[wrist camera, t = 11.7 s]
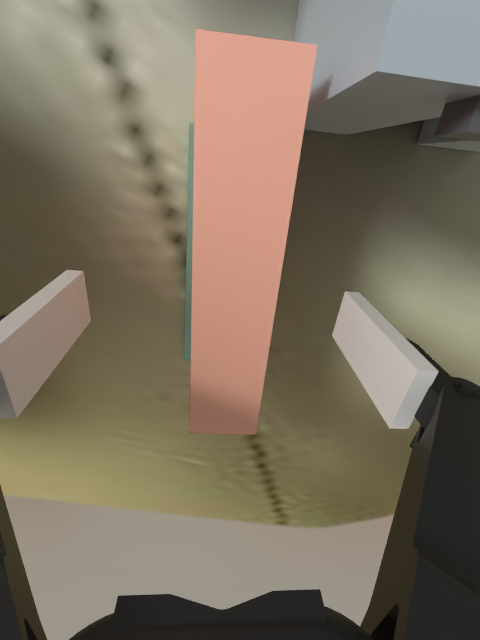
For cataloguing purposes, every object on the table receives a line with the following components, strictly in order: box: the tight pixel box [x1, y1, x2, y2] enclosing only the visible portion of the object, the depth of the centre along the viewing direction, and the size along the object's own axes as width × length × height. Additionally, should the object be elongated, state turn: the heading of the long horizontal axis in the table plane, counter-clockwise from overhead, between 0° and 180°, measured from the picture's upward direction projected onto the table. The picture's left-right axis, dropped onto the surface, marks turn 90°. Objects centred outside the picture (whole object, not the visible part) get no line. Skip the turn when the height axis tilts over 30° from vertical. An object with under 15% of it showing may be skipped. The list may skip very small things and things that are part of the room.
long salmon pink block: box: [190, 29, 317, 435], centre depth 17 cm, size 4×16×10 cm, turn 175°
